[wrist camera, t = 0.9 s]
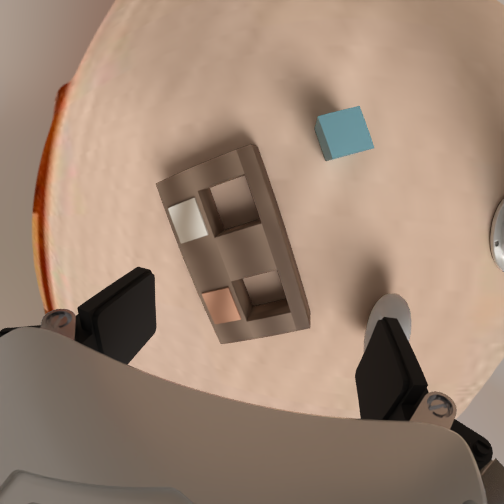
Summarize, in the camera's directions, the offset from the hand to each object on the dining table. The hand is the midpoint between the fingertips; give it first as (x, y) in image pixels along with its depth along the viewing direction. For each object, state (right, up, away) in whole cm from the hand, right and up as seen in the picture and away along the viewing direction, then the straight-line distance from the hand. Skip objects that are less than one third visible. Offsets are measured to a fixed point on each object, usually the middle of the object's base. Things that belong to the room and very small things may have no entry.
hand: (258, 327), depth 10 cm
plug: (+9, +16, +18) cm, 26 cm away
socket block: (-2, +4, +24) cm, 24 cm away
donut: (+17, -5, +23) cm, 29 cm away
